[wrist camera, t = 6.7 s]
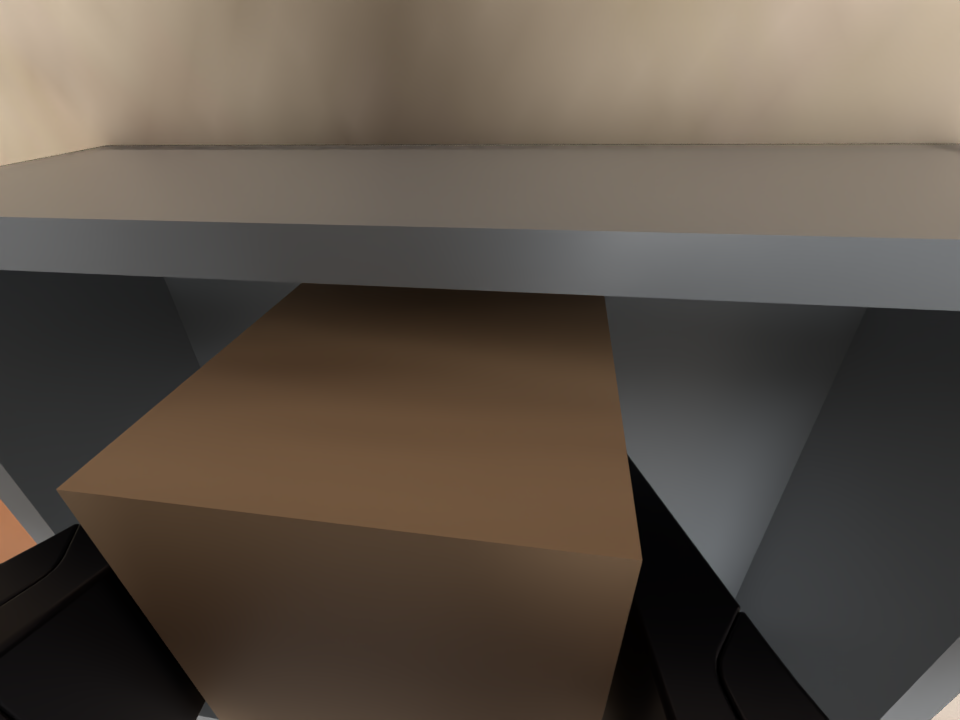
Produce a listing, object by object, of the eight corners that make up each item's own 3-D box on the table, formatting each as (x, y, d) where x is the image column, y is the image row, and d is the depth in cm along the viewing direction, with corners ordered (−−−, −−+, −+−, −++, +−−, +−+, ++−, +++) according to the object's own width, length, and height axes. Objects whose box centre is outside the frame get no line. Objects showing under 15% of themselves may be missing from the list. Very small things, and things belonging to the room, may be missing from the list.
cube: (576, 500, 10) (581, 802, 6) (357, 477, 11) (228, 732, 7) (602, 286, 8) (641, 561, 3) (311, 275, 8) (55, 489, 4)
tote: (735, 621, 17) (798, 840, 12) (275, 559, 19) (181, 721, 15) (961, 143, 8) (1440, 249, 4) (106, 145, 11) (-235, 211, 6)
